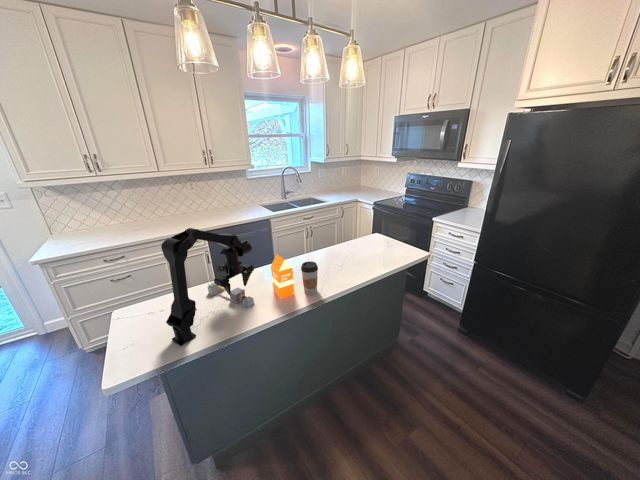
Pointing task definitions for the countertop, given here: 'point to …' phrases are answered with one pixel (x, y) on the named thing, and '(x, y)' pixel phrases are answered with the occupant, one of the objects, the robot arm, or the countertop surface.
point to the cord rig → (216, 288)
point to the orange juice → (282, 277)
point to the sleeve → (236, 294)
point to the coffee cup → (309, 277)
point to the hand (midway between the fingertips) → (237, 290)
